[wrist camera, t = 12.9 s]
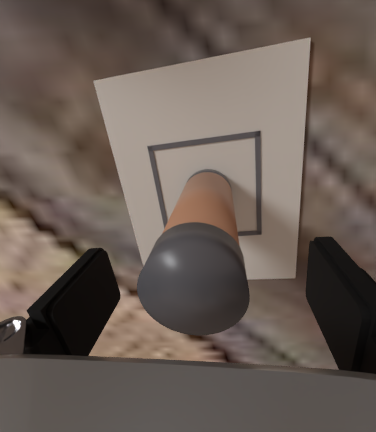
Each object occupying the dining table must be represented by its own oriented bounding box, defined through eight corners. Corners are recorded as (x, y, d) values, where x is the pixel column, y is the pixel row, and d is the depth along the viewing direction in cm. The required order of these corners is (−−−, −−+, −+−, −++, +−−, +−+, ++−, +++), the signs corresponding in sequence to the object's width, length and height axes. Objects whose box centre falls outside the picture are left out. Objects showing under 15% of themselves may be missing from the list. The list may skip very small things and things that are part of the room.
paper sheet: (308, 38, 14) (311, 36, 14) (294, 276, 22) (295, 279, 22) (95, 81, 17) (92, 80, 17) (148, 280, 25) (147, 282, 24)
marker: (231, 165, 18) (247, 245, 7) (234, 212, 20) (251, 336, 9) (179, 170, 19) (125, 251, 8) (187, 216, 20) (149, 334, 10)
